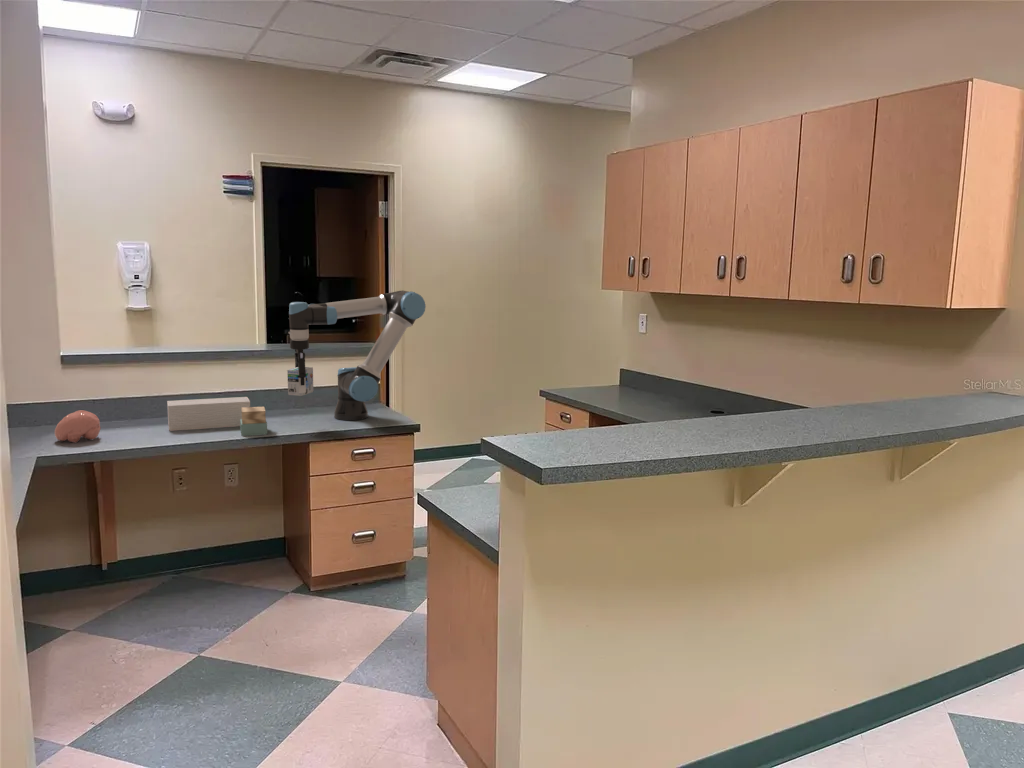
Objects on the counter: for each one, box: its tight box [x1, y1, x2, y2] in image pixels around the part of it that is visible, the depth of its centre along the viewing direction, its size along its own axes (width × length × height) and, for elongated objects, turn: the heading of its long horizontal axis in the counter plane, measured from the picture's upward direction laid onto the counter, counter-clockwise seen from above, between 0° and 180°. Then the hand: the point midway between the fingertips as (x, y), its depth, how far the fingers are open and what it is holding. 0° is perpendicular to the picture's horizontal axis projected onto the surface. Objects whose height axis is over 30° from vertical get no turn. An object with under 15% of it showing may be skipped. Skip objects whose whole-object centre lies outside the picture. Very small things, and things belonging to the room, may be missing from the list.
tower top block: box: [241, 406, 267, 424], centre depth 304 cm, size 9×9×5 cm
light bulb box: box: [286, 366, 314, 397], centre depth 311 cm, size 11×7×11 cm, turn 168°
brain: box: [54, 409, 101, 443], centre depth 284 cm, size 16×13×12 cm
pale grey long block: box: [166, 396, 251, 432], centre depth 314 cm, size 32×11×11 cm, turn 116°
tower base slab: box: [239, 419, 268, 437], centre depth 305 cm, size 10×10×5 cm
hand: (300, 390), depth 311 cm, fingers closed on light bulb box, 12 cm apart
